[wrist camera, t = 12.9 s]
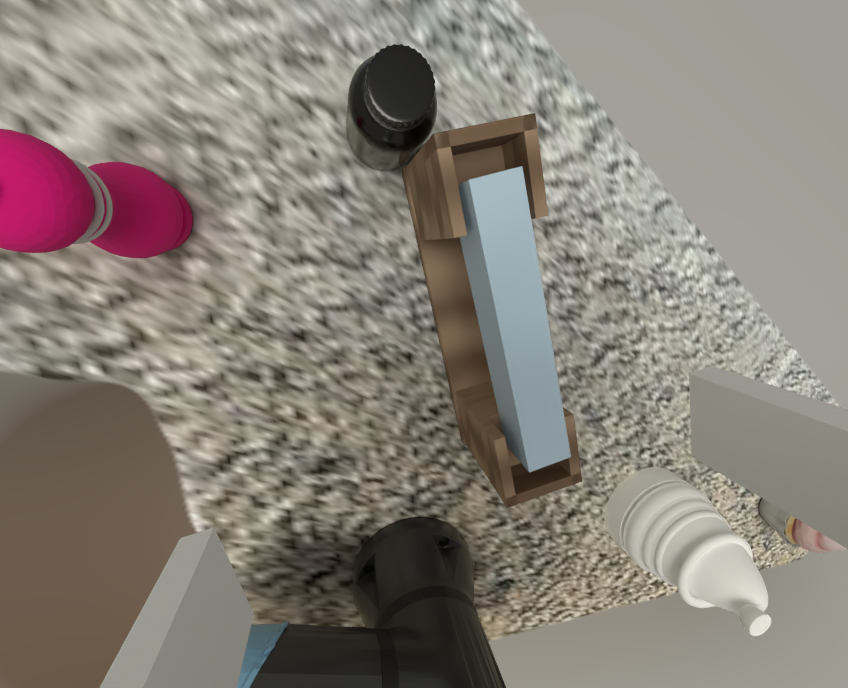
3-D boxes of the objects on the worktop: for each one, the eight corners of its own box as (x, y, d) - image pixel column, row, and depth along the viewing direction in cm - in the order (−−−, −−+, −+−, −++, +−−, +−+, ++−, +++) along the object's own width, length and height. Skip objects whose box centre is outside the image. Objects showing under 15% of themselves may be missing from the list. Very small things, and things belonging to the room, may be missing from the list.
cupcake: (807, 495, 63) (890, 539, 54) (766, 536, 64) (841, 587, 54) (783, 463, 60) (866, 504, 51) (740, 507, 61) (814, 555, 51)
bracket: (522, 421, 49) (584, 480, 36) (461, 440, 48) (504, 508, 35) (476, 153, 40) (538, 112, 28) (401, 169, 39) (430, 134, 26)
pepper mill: (183, 269, 37) (20, 295, 18) (98, 235, 35) (-190, 222, 16) (210, 197, 36) (67, 142, 17) (124, 157, 34) (-149, 44, 15)
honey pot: (603, 554, 57) (716, 686, 40) (604, 477, 54) (729, 585, 37) (679, 533, 59) (817, 649, 42) (685, 458, 56) (837, 551, 39)
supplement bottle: (429, 121, 38) (467, 68, 27) (396, 185, 39) (420, 160, 28) (366, 77, 36) (379, 0, 25) (333, 146, 37) (331, 101, 26)
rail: (542, 431, 39) (571, 457, 34) (505, 444, 38) (529, 472, 34) (495, 177, 32) (522, 166, 27) (449, 189, 31) (468, 179, 27)
